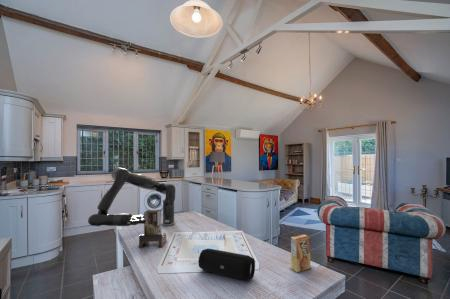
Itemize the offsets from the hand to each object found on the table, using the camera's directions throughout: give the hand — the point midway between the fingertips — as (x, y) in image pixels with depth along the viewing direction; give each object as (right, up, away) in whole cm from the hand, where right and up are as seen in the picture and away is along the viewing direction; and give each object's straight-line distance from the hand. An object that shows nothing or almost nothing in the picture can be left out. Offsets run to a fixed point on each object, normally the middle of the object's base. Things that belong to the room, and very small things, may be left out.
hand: (147, 219), depth 137 cm
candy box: (+87, -14, -33) cm, 93 cm away
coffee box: (+3, -11, 0) cm, 11 cm away
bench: (+4, -16, -1) cm, 16 cm away
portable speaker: (+50, -14, -37) cm, 64 cm away
